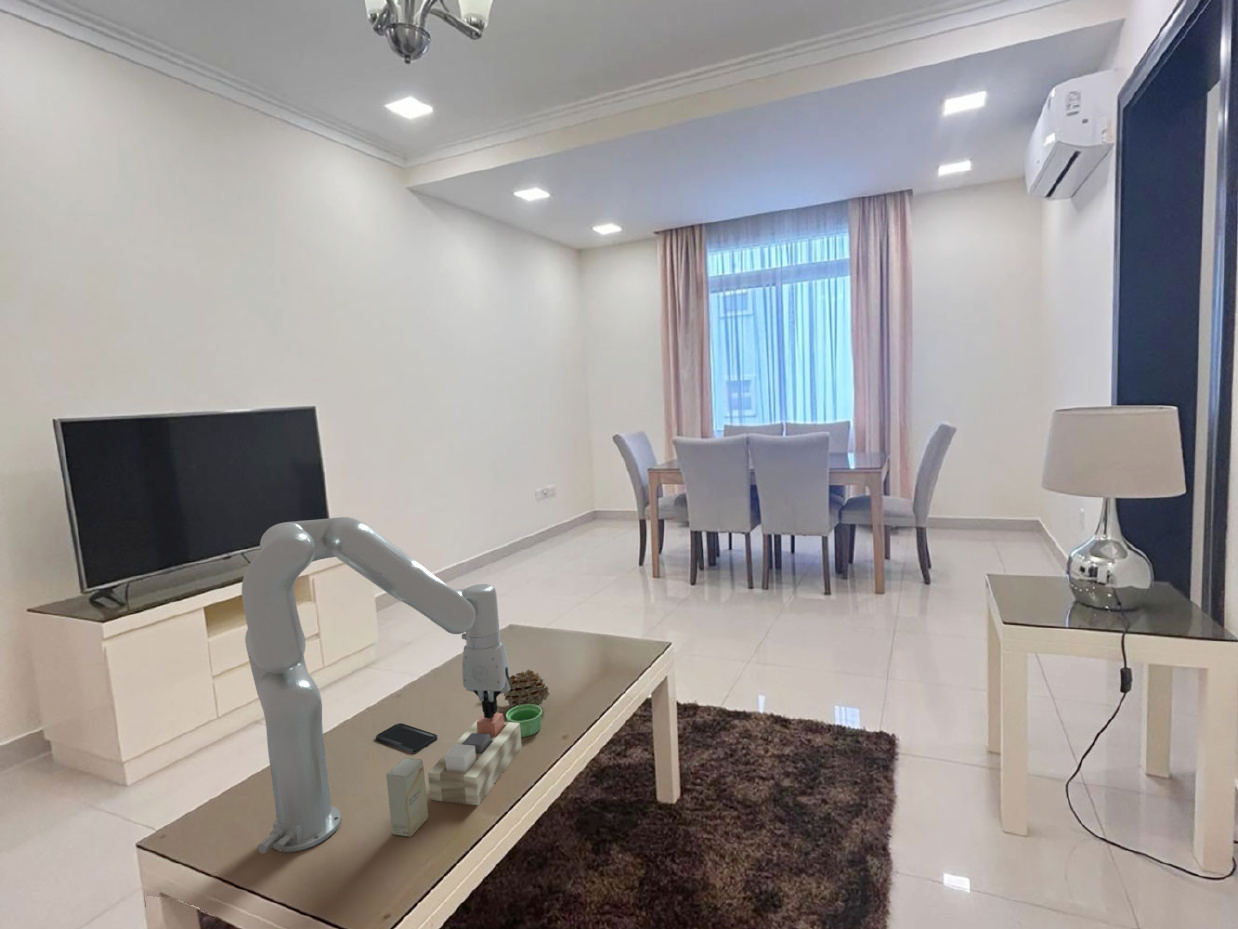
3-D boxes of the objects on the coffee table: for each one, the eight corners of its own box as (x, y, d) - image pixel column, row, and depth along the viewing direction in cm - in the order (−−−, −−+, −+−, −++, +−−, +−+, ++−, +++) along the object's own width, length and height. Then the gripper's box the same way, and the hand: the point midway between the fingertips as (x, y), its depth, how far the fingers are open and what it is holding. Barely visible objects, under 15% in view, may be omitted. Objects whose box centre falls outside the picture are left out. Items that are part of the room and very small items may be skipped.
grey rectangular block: (482, 769, 137) (480, 745, 137) (464, 767, 139) (462, 743, 138) (491, 757, 142) (490, 734, 141) (473, 755, 143) (471, 732, 142)
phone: (399, 722, 164) (439, 735, 156) (399, 726, 164) (439, 739, 156) (373, 737, 157) (413, 751, 149) (373, 741, 157) (414, 756, 149)
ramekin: (521, 742, 152) (520, 725, 151) (500, 730, 158) (498, 714, 158) (550, 727, 158) (549, 711, 158) (528, 716, 164) (527, 700, 164)
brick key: (496, 746, 144) (494, 723, 144) (478, 744, 145) (476, 721, 145) (504, 735, 148) (503, 713, 148) (487, 734, 150) (485, 712, 149)
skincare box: (410, 838, 120) (404, 777, 119) (390, 834, 121) (384, 775, 120) (429, 816, 126) (424, 759, 125) (410, 813, 127) (404, 756, 126)
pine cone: (559, 703, 170) (556, 668, 169) (538, 720, 162) (535, 683, 161) (495, 690, 181) (492, 656, 180) (472, 704, 173) (469, 670, 172)
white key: (466, 782, 131) (464, 757, 130) (447, 780, 132) (444, 755, 131) (476, 770, 135) (474, 745, 134) (458, 768, 136) (455, 743, 136)
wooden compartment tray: (478, 805, 128) (475, 777, 128) (430, 799, 131) (427, 772, 131) (521, 747, 150) (519, 722, 149) (479, 743, 152) (477, 719, 152)
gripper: (445, 644, 143) (453, 721, 145) (506, 646, 139) (513, 725, 141) (462, 632, 150) (469, 705, 152) (520, 634, 146) (526, 709, 148)
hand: (490, 715), depth 146 cm, fingers closed
